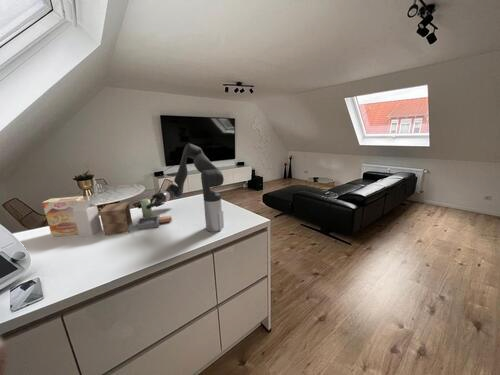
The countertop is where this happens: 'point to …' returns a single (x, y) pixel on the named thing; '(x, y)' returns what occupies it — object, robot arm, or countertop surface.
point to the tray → (152, 221)
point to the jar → (146, 211)
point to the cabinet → (116, 218)
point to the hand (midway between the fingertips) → (142, 207)
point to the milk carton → (87, 219)
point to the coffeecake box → (61, 215)
